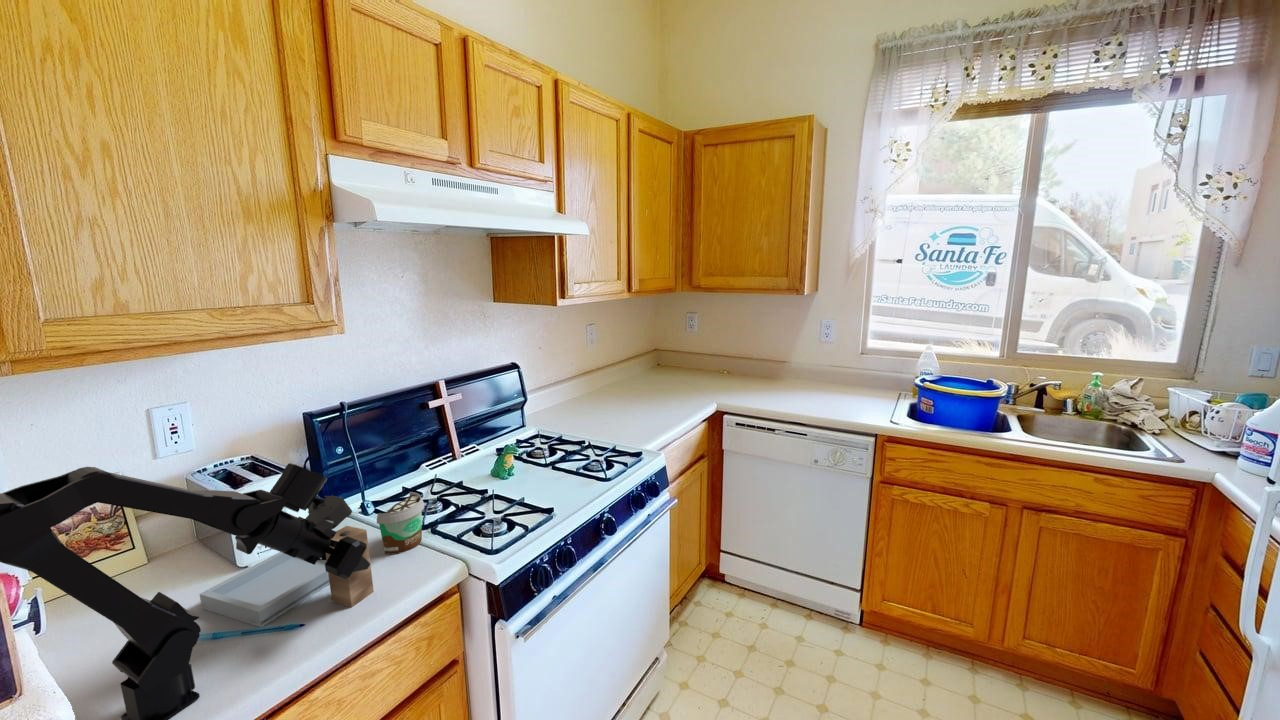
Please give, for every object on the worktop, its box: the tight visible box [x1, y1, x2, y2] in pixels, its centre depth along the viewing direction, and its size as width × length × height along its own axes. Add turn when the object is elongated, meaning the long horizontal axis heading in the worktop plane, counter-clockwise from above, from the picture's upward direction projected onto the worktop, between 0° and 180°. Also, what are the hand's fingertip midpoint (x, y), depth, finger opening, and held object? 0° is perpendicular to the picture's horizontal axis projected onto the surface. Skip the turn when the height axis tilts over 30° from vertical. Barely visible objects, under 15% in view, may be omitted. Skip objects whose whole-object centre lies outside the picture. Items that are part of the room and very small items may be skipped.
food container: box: [376, 491, 425, 555], centre depth 120 cm, size 12×6×10 cm, turn 168°
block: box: [326, 525, 375, 608], centre depth 101 cm, size 5×5×13 cm
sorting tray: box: [199, 551, 330, 628], centre depth 105 cm, size 20×16×3 cm
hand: (356, 561), depth 102 cm, fingers open, 7 cm apart
